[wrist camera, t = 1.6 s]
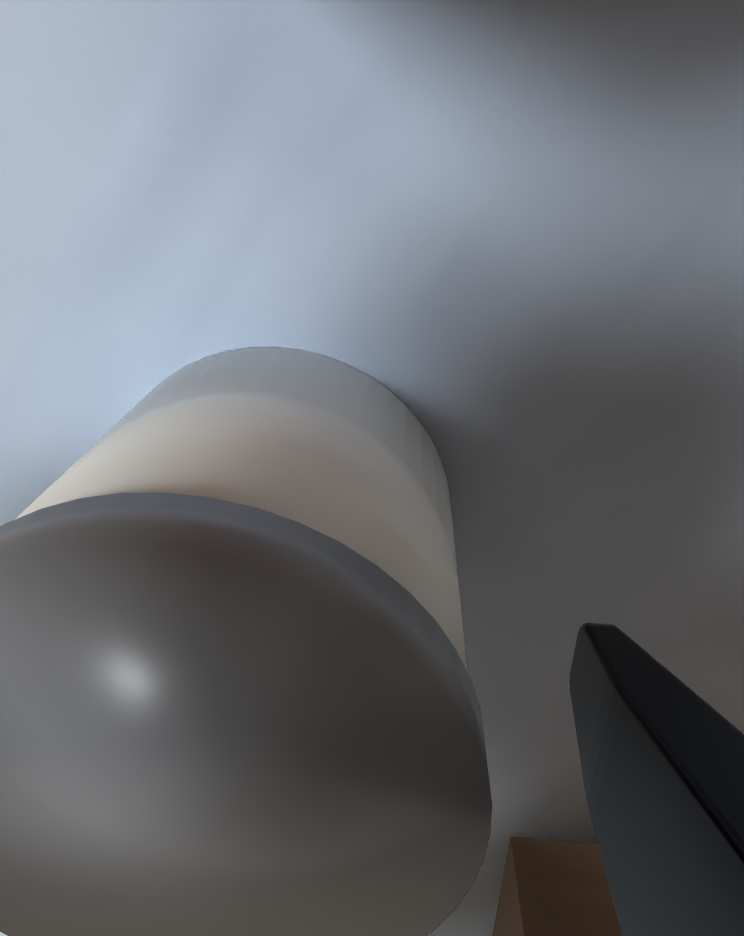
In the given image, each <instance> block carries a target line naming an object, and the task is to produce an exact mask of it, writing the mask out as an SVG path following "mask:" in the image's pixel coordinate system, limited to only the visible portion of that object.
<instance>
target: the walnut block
mask: <svg viewBox="0 0 744 936" xmlns="http://www.w3.org/2000/svg"><path fill="white" fill-rule="evenodd" d="M493 936H623V935H622V932H621V928H620V924H619V920H618V917H617V913H616V909H615V906H614V902H613V898H612V894H611V891H610V887H609V883H608V879H607V876H606V872H605V868H604V864H603V861H602V857H601V853H600V850H599V846H598V844H594V843H581V842H568V841H555V840H542V839H529V838H516V837H510V842H509V848H508V854H507V859H506V865H505V870H504V876H503V881H502V887H501V892H500V898H499V904H498V909H497V915H496V920H495V926H494V931H493Z"/></svg>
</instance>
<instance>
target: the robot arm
mask: <svg viewBox="0 0 744 936" xmlns="http://www.w3.org/2000/svg"><path fill="white" fill-rule="evenodd" d="M570 692H571V699H572V706H573V712H574V719H575V726H576V733H577V739H578V746H579V753H580V760H581V766H582V773H583V780H584V786H585V792H586V798H587V803H588V807H589V811H590V815H591V820H592V823H593V827H594V831H595V835H596V838H597V842H598V846H599V850H600V853H601V857H602V861H603V864H604V868H605V872H606V876H607V879H608V883H609V887H610V891H611V894H612V898H613V902H614V906H615V909H616V913H617V917H618V920H619V924H620V928H621V932H622V935H623V936H744V734H743V733H742V732H741V731H739V730H738V729H737V728H736V727H735V726H734V725H732V724H731V723H730V722H729V721H728V720H726V719H725V718H724V717H723V716H722V715H720V714H719V713H718V712H717V711H716V710H715V709H713V708H712V707H711V706H710V705H709V704H707V703H706V702H705V701H704V700H703V699H702V698H700V697H699V696H698V695H697V694H696V693H694V692H693V691H692V690H691V689H690V688H688V687H687V686H686V685H685V684H684V683H683V682H681V681H680V680H679V679H678V678H677V677H675V676H674V675H673V674H672V673H671V672H670V671H668V670H667V669H666V668H665V667H664V666H662V665H661V664H660V663H659V662H658V661H657V660H655V659H654V658H653V657H652V656H651V655H649V654H648V653H647V652H646V651H645V650H643V649H642V648H641V647H640V646H639V645H638V644H636V643H635V642H634V641H633V640H632V639H630V638H629V637H628V636H627V635H626V634H625V633H623V632H622V631H621V630H620V629H619V628H617V627H616V626H614V625H610V624H595V623H585V624H583V625H582V626H581V627H580V629H579V632H578V636H577V641H576V646H575V651H574V656H573V661H572V666H571V671H570Z"/></svg>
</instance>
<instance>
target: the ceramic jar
mask: <svg viewBox="0 0 744 936" xmlns="http://www.w3.org/2000/svg"><path fill="white" fill-rule="evenodd" d="M491 812H492V801H491V793H490V784H489V776H488V767H487V759H486V751H485V742H484V734H483V726H482V719H481V711H480V706H479V703H478V700H477V697H476V694H475V690H474V687H473V684H472V681H471V678H470V676H469V674H468V671H467V661H466V651H465V642H464V632H463V622H462V612H461V602H460V593H459V583H458V573H457V563H456V553H455V543H454V534H453V524H452V514H451V504H450V496H449V489H448V482H447V478H446V475H445V471H444V468H443V464H442V461H441V459H440V457H439V454H438V452H437V450H436V448H435V446H434V443H433V441H432V440H431V438H430V437H429V435H428V433H427V432H426V430H425V429H424V427H423V425H422V424H421V422H420V421H419V420H418V419H417V418H416V416H415V415H414V414H413V413H412V412H411V410H410V409H409V408H408V407H407V406H406V405H405V404H404V403H403V402H402V401H401V400H400V399H399V398H398V397H397V396H395V395H394V394H393V393H392V392H391V391H390V390H389V389H388V388H386V387H385V386H383V385H382V384H380V383H379V382H378V381H376V380H375V379H373V378H372V377H371V376H369V375H367V374H365V373H363V372H362V371H360V370H358V369H356V368H354V367H352V366H350V365H348V364H346V363H343V362H341V361H338V360H336V359H333V358H330V357H328V356H325V355H321V354H317V353H313V352H309V351H305V350H300V349H292V348H283V347H248V348H242V349H235V350H228V351H224V352H221V353H218V354H214V355H211V356H207V357H204V358H202V359H200V360H198V361H195V362H193V363H191V364H189V365H187V366H184V367H183V368H181V369H180V370H178V371H177V372H175V373H173V374H172V375H170V376H169V377H167V378H166V379H164V380H163V381H162V382H161V383H160V384H159V385H158V386H157V387H155V388H154V389H153V390H152V391H151V392H150V393H149V394H148V395H146V396H145V397H144V398H143V399H142V400H141V401H140V402H139V403H138V404H137V405H136V406H135V407H134V408H133V409H132V410H131V411H129V412H128V413H127V414H126V415H125V416H124V417H123V418H122V419H121V420H120V421H119V422H118V423H117V424H116V425H115V426H113V427H112V428H111V429H110V430H109V431H108V432H107V433H106V434H105V435H104V436H103V437H102V438H101V439H100V440H99V441H97V442H96V443H95V444H94V445H93V446H92V447H91V448H90V449H89V450H88V451H87V452H86V453H85V454H84V455H83V456H81V457H80V458H79V459H78V460H77V461H76V462H75V463H74V464H73V465H72V466H71V467H70V468H69V469H68V470H67V471H66V472H64V473H63V474H62V475H61V476H60V477H59V478H58V479H57V480H56V481H55V482H54V483H53V484H52V485H51V486H50V487H48V488H47V489H46V490H45V491H44V492H43V493H42V494H41V495H40V496H39V497H38V498H37V499H36V500H35V501H34V502H32V503H31V504H30V505H29V506H28V507H27V508H26V509H25V510H24V511H23V512H22V513H21V514H20V515H19V516H18V517H17V518H15V519H14V520H13V521H11V522H8V523H6V524H4V525H3V526H1V527H0V932H2V933H4V934H6V935H8V936H427V935H428V934H430V933H431V932H432V931H434V930H435V929H436V928H437V927H438V926H439V925H440V924H441V923H442V922H443V921H444V920H445V919H446V918H447V917H448V916H449V915H450V914H451V913H452V912H453V911H454V910H455V909H456V907H457V906H458V904H459V903H460V902H461V900H462V899H463V897H464V896H465V895H466V893H467V892H468V890H469V889H470V888H471V886H472V884H473V882H474V880H475V878H476V875H477V873H478V871H479V869H480V867H481V865H482V863H483V860H484V856H485V852H486V848H487V844H488V841H489V837H490V829H491Z"/></svg>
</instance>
